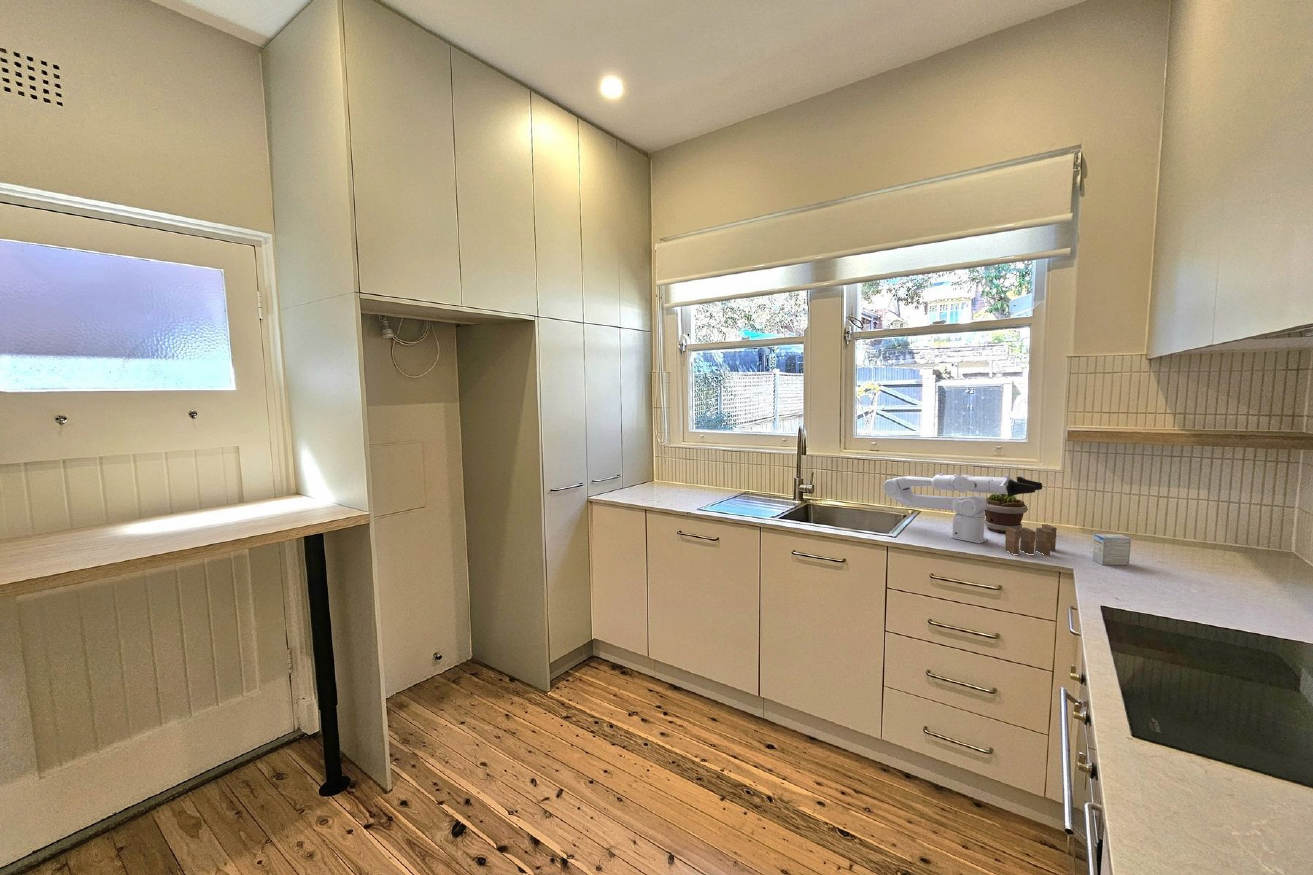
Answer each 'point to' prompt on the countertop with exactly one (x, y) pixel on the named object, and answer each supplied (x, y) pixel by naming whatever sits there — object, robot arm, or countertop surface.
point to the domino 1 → (1012, 540)
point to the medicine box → (1111, 549)
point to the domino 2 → (1027, 540)
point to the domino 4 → (1053, 535)
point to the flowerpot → (1004, 512)
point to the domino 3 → (1043, 541)
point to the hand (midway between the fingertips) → (1038, 487)
